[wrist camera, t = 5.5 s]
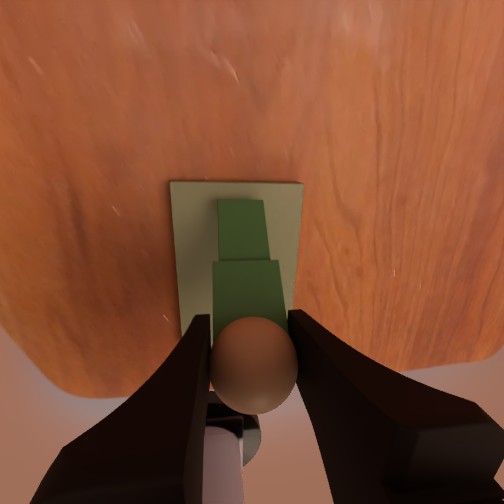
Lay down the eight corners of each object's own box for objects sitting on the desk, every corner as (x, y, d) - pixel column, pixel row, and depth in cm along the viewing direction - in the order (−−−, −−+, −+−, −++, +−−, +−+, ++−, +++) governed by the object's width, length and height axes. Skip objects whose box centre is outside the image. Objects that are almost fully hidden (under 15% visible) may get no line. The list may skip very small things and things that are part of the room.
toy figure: (292, 406, 12) (319, 413, 8) (209, 414, 11) (205, 425, 8) (267, 215, 16) (279, 173, 13) (209, 215, 16) (206, 172, 13)
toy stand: (285, 334, 21) (289, 344, 20) (184, 340, 20) (182, 351, 19) (298, 181, 17) (304, 183, 16) (172, 179, 16) (169, 181, 15)
